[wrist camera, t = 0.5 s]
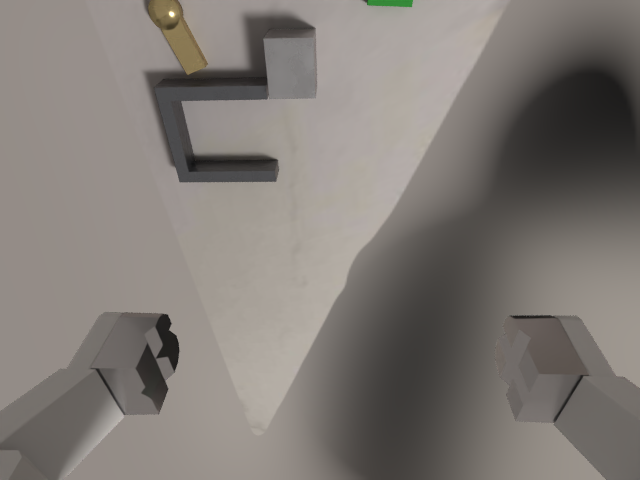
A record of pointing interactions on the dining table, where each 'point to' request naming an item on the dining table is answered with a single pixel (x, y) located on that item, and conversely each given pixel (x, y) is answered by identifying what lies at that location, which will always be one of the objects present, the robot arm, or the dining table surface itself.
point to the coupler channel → (178, 136)
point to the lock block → (291, 63)
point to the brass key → (177, 33)
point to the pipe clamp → (390, 3)
